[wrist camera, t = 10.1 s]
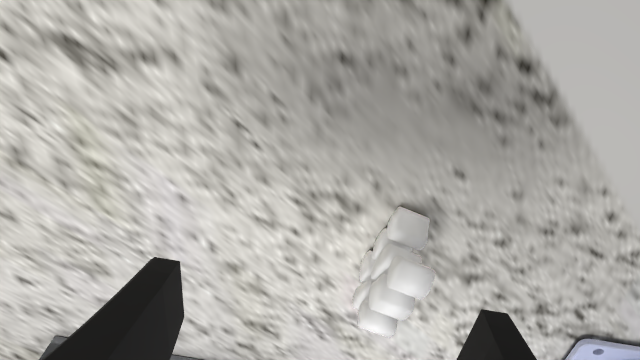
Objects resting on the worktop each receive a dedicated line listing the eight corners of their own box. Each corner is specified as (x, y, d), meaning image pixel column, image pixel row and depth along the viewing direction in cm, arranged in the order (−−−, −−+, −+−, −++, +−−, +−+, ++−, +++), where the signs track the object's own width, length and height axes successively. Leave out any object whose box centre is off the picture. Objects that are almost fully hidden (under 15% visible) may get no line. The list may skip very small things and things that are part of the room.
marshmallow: (402, 200, 21) (403, 279, 17) (430, 211, 21) (436, 292, 18) (355, 264, 24) (348, 341, 20) (380, 273, 24) (377, 351, 21)
